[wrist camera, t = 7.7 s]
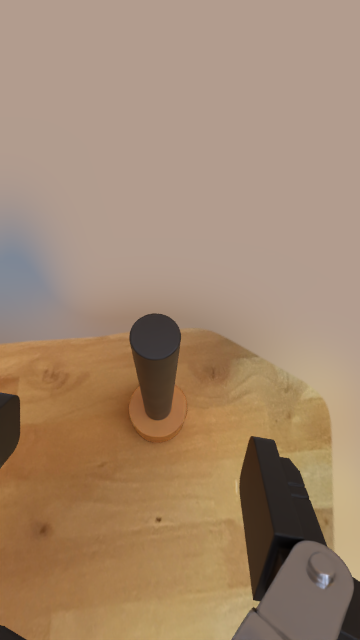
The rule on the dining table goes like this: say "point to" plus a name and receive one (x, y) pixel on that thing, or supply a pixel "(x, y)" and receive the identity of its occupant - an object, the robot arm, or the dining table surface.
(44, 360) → the dining table surface
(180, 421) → the plunger
